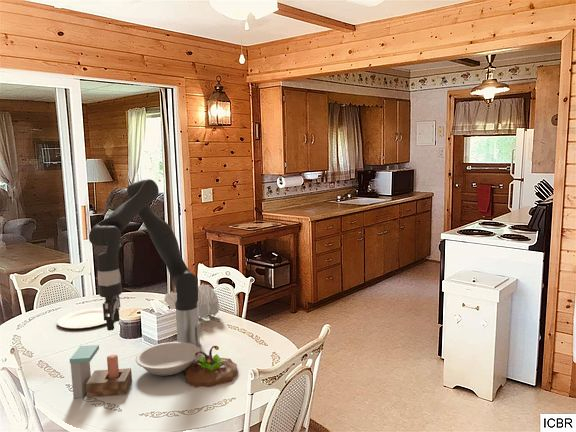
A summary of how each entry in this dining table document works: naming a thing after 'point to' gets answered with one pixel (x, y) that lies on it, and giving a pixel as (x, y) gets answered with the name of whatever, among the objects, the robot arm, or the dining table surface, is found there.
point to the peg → (113, 367)
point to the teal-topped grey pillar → (81, 368)
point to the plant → (210, 370)
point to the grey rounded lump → (199, 301)
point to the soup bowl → (167, 357)
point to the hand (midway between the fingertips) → (113, 325)
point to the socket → (108, 383)
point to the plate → (83, 319)
